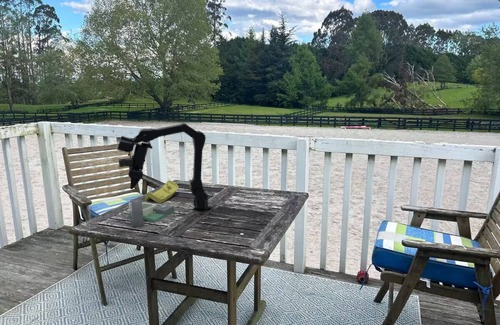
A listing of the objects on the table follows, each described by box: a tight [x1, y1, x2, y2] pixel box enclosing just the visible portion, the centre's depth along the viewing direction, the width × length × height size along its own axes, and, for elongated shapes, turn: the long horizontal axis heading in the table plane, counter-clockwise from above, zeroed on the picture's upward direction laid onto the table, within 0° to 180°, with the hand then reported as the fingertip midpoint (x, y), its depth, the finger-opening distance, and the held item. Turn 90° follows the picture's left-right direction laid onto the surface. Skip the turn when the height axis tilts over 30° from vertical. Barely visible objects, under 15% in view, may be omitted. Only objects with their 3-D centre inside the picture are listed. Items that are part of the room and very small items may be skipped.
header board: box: [128, 201, 175, 223], centre depth 180 cm, size 16×14×4 cm
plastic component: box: [144, 179, 179, 204], centre depth 206 cm, size 20×7×10 cm
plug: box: [128, 198, 145, 228], centre depth 166 cm, size 6×5×12 cm
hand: (131, 186), depth 175 cm, fingers open, 9 cm apart
